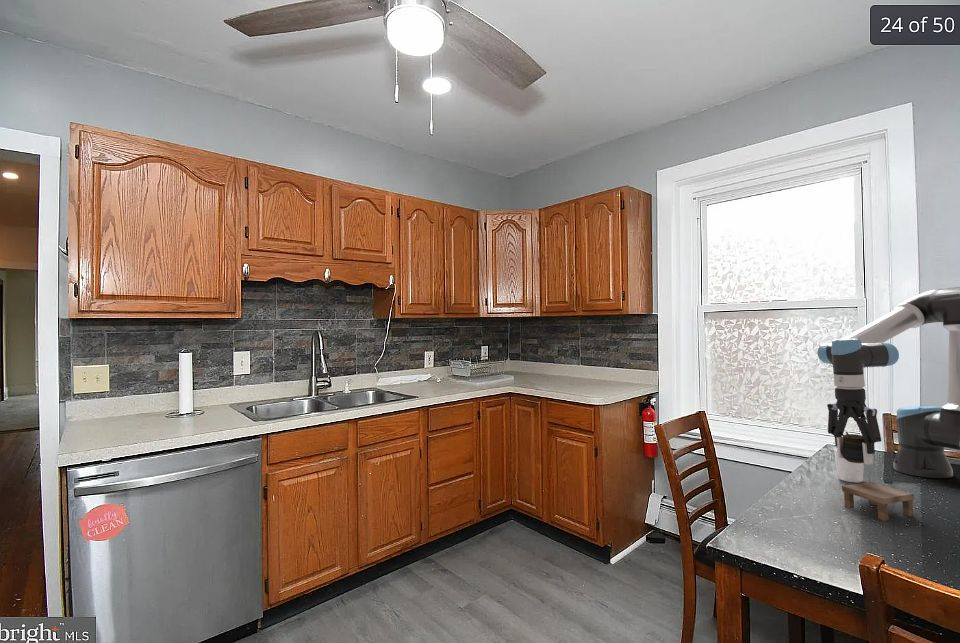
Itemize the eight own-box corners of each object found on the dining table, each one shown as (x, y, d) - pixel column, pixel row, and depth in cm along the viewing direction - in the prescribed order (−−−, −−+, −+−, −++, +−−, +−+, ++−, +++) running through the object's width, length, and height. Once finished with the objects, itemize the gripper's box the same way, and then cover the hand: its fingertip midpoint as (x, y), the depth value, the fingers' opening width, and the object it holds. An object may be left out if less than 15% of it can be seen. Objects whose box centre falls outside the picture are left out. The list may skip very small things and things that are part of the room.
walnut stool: (872, 502, 135) (871, 481, 136) (915, 516, 125) (913, 493, 125) (843, 506, 133) (842, 485, 133) (884, 521, 122) (883, 498, 122)
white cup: (871, 483, 151) (869, 453, 151) (844, 482, 153) (842, 453, 153) (856, 476, 159) (854, 447, 159) (831, 475, 160) (829, 447, 161)
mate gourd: (874, 461, 142) (872, 429, 142) (866, 466, 137) (863, 433, 138) (846, 456, 148) (843, 426, 148) (837, 461, 143) (835, 430, 144)
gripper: (810, 385, 152) (815, 454, 152) (874, 392, 133) (881, 470, 132) (827, 383, 154) (833, 451, 153) (894, 389, 134) (900, 467, 134)
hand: (855, 460), depth 143 cm, fingers closed on mate gourd, 7 cm apart
